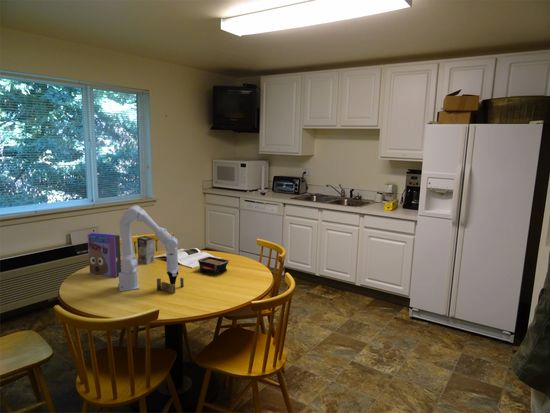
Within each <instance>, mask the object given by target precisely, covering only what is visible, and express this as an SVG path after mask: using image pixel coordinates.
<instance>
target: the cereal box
mask: <svg viewBox="0 0 550 413" xmlns="http://www.w3.org/2000/svg"><path fill="white" fill-rule="evenodd" d="M86 237H87V245H88V246H87V249H88V250H87V251H88V263H89V264H88V265H89V275H90V274H91V275H92V276H97V275H98V276H99V277H105V276H106V277H107V278H115V279H116V278H119V273H120V272H122V270H121V265H122V257H121V243H120V242H121V235H119V234H111V233H110V234H108V233H100V232H99V233H98V232H91V233H89V234H87V236H86ZM91 275H90V276H91Z"/></svg>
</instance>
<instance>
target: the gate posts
mask: <svg viewBox="0 0 550 413" xmlns="http://www.w3.org/2000/svg"><path fill="white" fill-rule="evenodd" d="M179 280H180V288H184V277H180V278H179ZM161 282H162V279H161V278H157V279H156V290H157V291H158V292H160V291H162V286H161Z"/></svg>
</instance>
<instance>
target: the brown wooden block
mask: <svg viewBox="0 0 550 413" xmlns="http://www.w3.org/2000/svg"><path fill="white" fill-rule="evenodd" d="M161 291H164V292H168V293H170V294H171V293H172V294H175V293H176V283H175V284H173V285H172V284H170V282H165V281H161Z"/></svg>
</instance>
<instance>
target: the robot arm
mask: <svg viewBox="0 0 550 413" xmlns="http://www.w3.org/2000/svg"><path fill="white" fill-rule="evenodd" d="M122 213H123V214H122V216H121V218H120V220H119V222H118V225H119V234H120V242H121V248H122V257H121V272H120V273H119V277H118V285H117V286H118V287H119V292H124V291H131V290H132V291H134V290H138V289H140V286H139V283H138V269H137V266H138V265H139V262H138V258H136V254H135V252H134V247H133V246H134V245H133V237H132V230H131V229H132V228H131V224H132V223H133V222H134V220H136V222H143V223H144V224H146V225H147V227H149V229H151V230H152V231H153V232H154V237H156V238H158V240H160V242H161V243H162V244H163V245H164V248H165V250H166V254H165V255H166V275H167V276H168V279H169V284H172V285H173V284H175V285H176V282H177V278H178V275H179V270H180V269H181V267H180V266H179V265H178V264H179V261H178V260H179V259H178V258H179V257H178V256H179V255H178V254H179V253H178V245H179V241H178V239H177V237H176V236H173V235H171V234H170V233H169V232H168V229H167V228H164V227H160V226H159V225H158V224H157V223H156V222H155V221H154V220H153V219H152V217H151V216H150V215H149V214H148V213H147V212H146V210H145V209H143V208H142V207H141V206H140V205H137V204H135V205H132V206H131V207H129V208H127V209H126V210H125V211H124V212H122Z"/></svg>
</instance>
